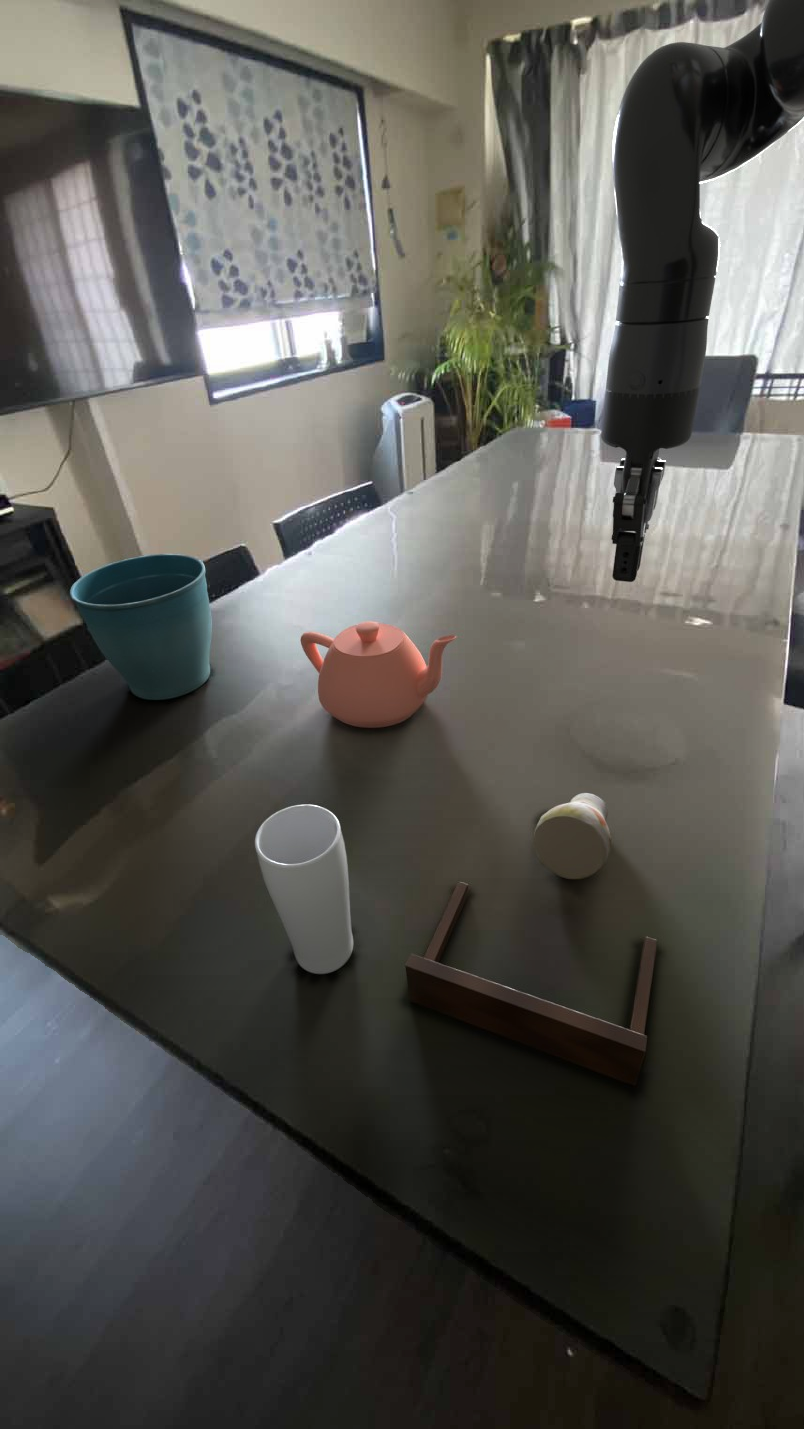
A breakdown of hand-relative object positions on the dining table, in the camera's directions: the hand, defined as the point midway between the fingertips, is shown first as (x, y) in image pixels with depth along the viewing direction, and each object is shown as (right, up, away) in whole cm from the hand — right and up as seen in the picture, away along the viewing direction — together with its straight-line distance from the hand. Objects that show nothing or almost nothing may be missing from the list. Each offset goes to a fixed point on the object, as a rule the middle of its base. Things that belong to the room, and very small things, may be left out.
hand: (625, 574), depth 64 cm
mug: (-5, -28, +2) cm, 28 cm away
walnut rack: (-11, -36, -9) cm, 39 cm away
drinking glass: (-29, -36, -6) cm, 46 cm away
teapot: (-25, -13, +25) cm, 38 cm away
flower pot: (-58, -9, +35) cm, 68 cm away
